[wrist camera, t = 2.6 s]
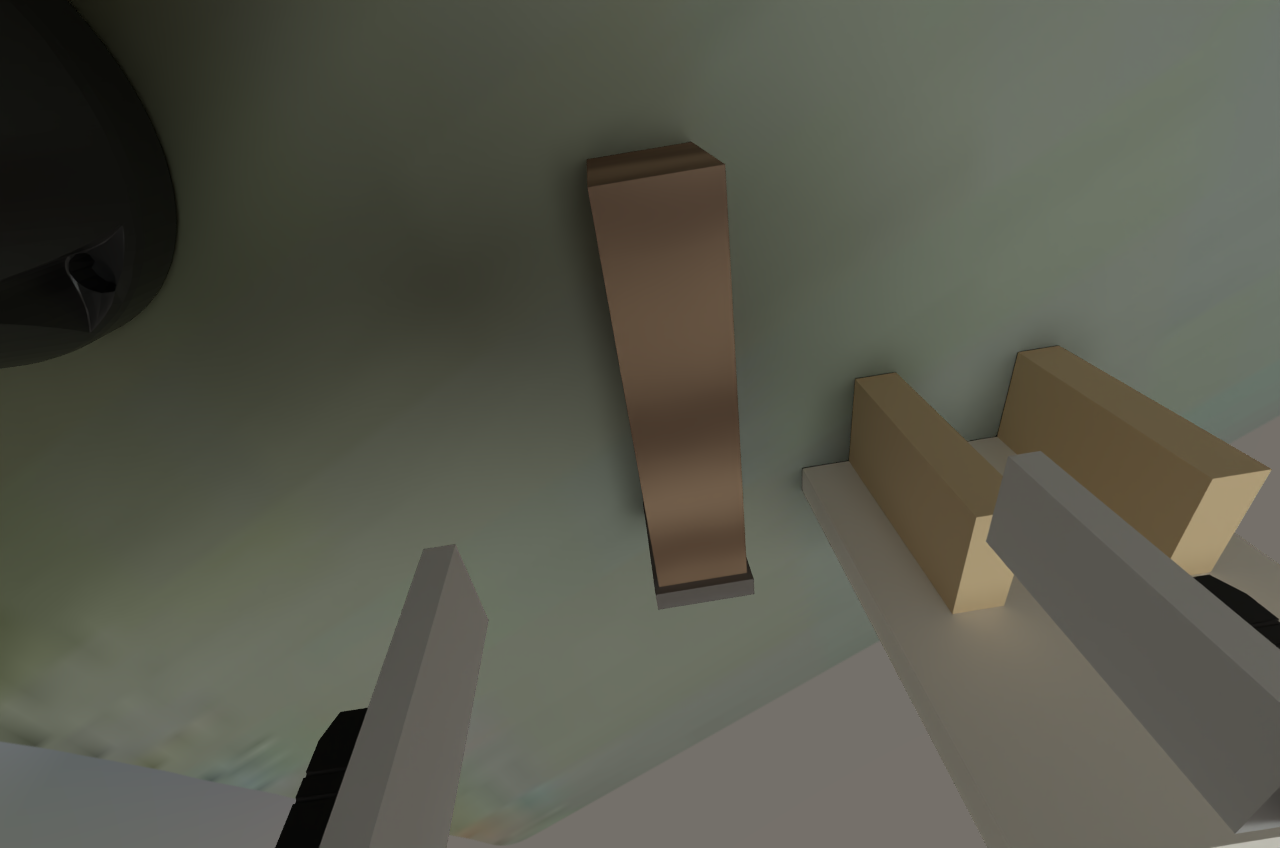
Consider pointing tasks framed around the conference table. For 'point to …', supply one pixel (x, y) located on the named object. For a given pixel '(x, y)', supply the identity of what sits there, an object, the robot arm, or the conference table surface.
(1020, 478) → the robot arm
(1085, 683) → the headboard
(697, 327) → the rail
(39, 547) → the conference table surface
